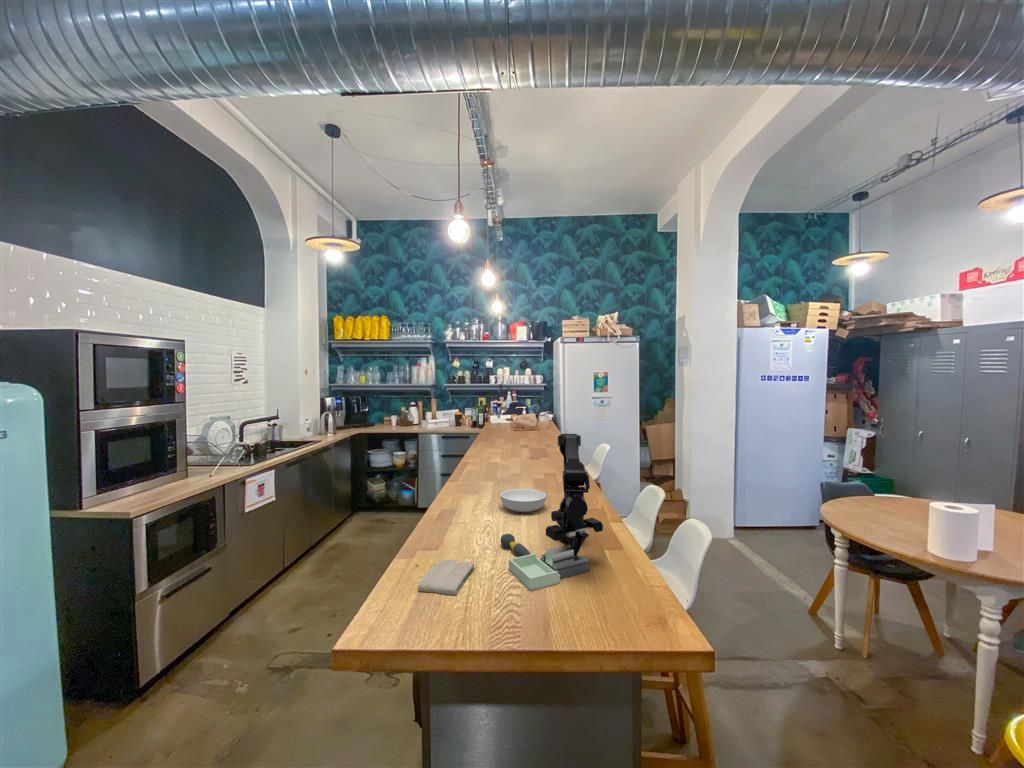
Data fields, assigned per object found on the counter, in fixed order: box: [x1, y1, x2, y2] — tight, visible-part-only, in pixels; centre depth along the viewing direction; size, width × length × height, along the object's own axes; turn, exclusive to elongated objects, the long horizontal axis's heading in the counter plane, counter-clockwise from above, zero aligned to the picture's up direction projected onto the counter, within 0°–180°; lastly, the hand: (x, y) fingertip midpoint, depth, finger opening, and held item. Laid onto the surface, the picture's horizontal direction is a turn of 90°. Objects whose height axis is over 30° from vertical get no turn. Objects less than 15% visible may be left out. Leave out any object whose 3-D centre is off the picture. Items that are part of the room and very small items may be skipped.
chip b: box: [545, 546, 563, 567], centre depth 131 cm, size 4×4×4 cm
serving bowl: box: [500, 488, 547, 513], centre depth 191 cm, size 21×21×7 cm
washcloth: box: [417, 558, 475, 596], centre depth 126 cm, size 12×18×3 cm, turn 168°
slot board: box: [539, 553, 591, 580], centre depth 133 cm, size 12×10×4 cm
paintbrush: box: [500, 533, 532, 557], centre depth 145 cm, size 20×5×5 cm, turn 38°
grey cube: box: [556, 544, 574, 561], centre depth 133 cm, size 4×4×4 cm
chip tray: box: [508, 553, 561, 592], centre depth 128 cm, size 10×14×4 cm
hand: (574, 555), depth 134 cm, fingers closed
